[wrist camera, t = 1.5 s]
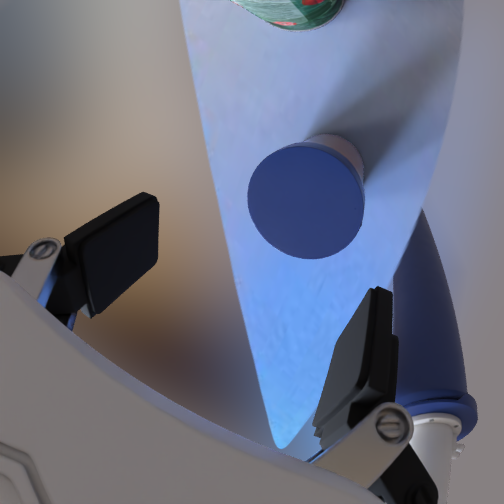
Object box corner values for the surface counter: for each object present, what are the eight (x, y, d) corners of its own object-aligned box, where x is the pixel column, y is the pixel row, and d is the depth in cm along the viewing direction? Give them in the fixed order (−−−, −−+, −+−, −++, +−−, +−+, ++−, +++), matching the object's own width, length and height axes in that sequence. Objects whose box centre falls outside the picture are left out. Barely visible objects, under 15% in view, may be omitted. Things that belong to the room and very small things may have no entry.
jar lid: (382, 167, 15) (383, 174, 13) (342, 262, 19) (338, 276, 17) (271, 127, 16) (260, 130, 15) (248, 223, 20) (237, 234, 19)
